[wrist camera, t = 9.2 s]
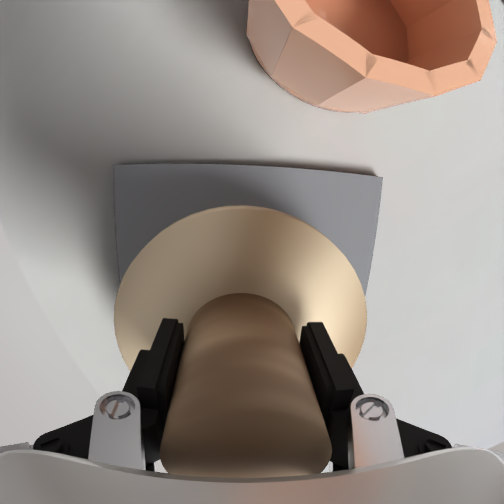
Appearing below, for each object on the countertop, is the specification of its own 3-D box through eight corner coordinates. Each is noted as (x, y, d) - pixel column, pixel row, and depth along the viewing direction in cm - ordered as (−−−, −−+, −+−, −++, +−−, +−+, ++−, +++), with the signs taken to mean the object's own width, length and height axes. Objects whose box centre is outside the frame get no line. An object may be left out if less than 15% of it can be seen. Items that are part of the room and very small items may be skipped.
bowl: (406, -11, 11) (470, -58, 5) (413, 126, 14) (502, 122, 7) (252, -42, 11) (259, -122, 4) (242, 102, 13) (245, 62, 7)
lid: (376, 213, 12) (495, 274, 5) (335, 409, 15) (372, 513, 8) (111, 203, 11) (-5, 260, 5) (138, 405, 14) (106, 513, 8)
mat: (377, 176, 15) (382, 177, 14) (339, 382, 19) (342, 388, 18) (118, 164, 14) (113, 165, 13) (138, 378, 18) (136, 384, 17)
